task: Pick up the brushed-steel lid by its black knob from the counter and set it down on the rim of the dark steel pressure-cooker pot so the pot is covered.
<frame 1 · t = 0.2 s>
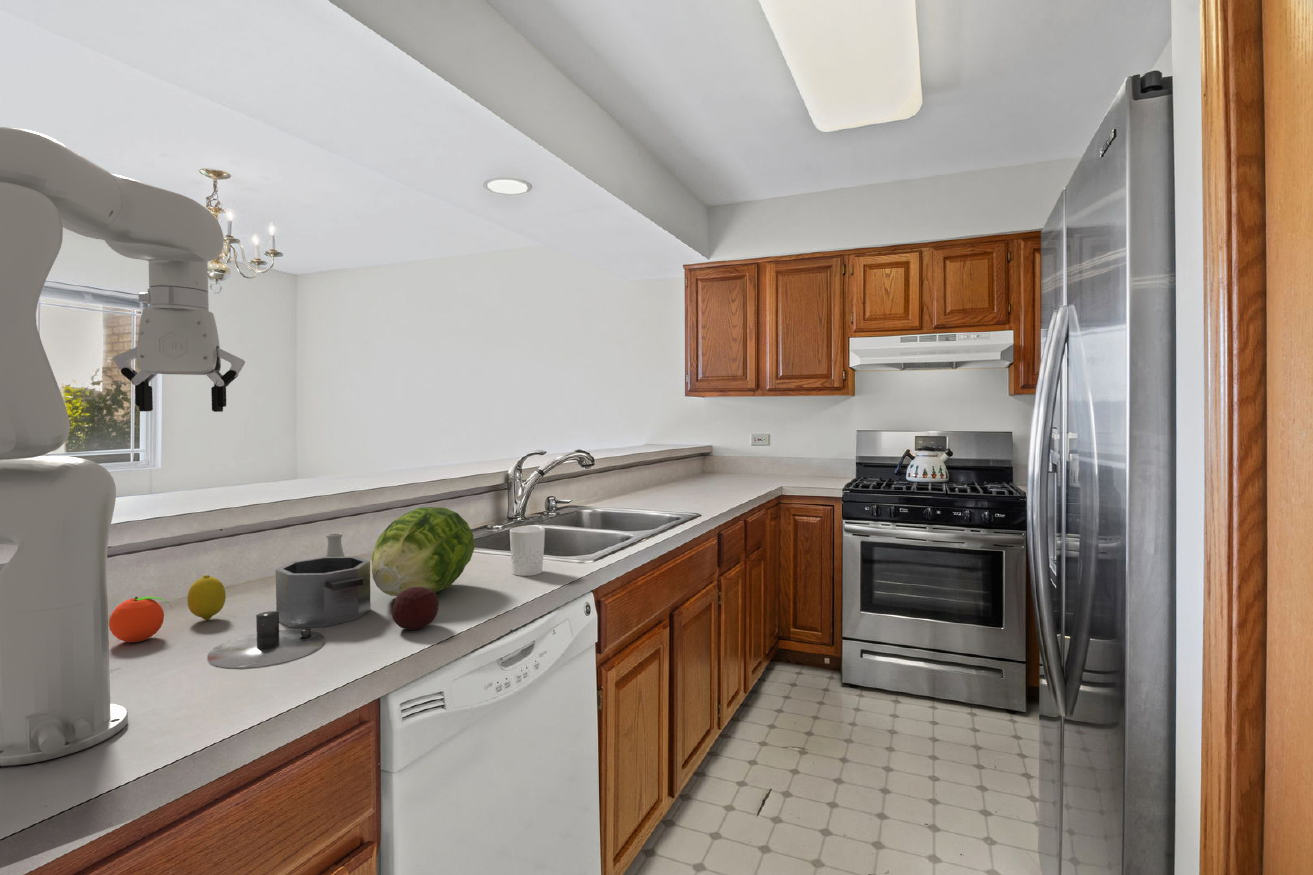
hand: (182, 411, 104), 37 cm above the counter, tool pointing down, fingers open, 9 cm apart
lemon: (207, 621, 116), on the counter
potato: (415, 629, 112), on the counter
lid: (268, 651, 102), on the counter
white cup: (527, 573, 151), on the counter
grey flared column: (335, 580, 144), on the counter
lettuce: (420, 596, 132), on the counter
clementine: (141, 641, 105), on the counter
pot: (324, 614, 119), on the counter
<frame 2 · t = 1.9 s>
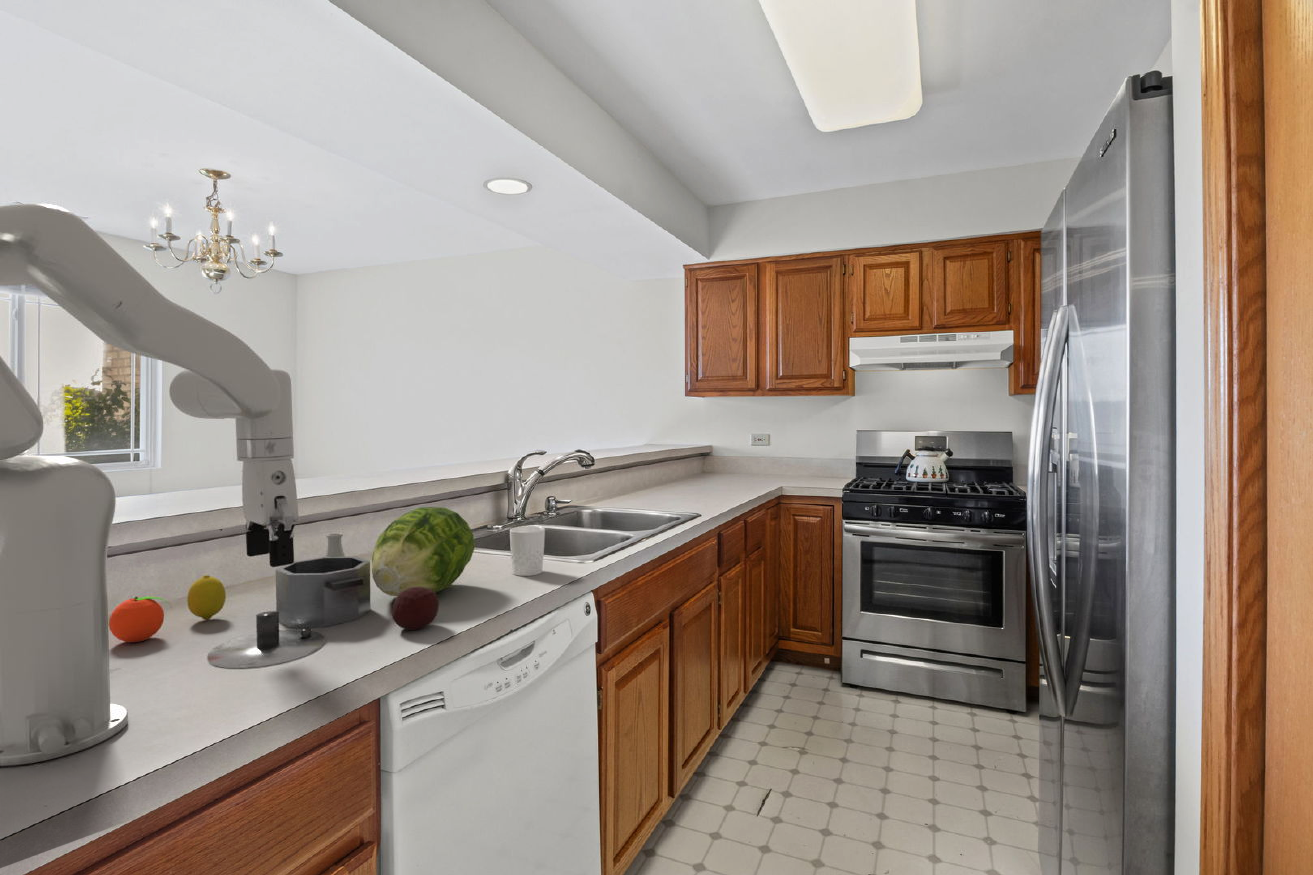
hand: (270, 559, 102), 14 cm above the counter, tool pointing down, fingers open, 9 cm apart
nothing on the counter moved.
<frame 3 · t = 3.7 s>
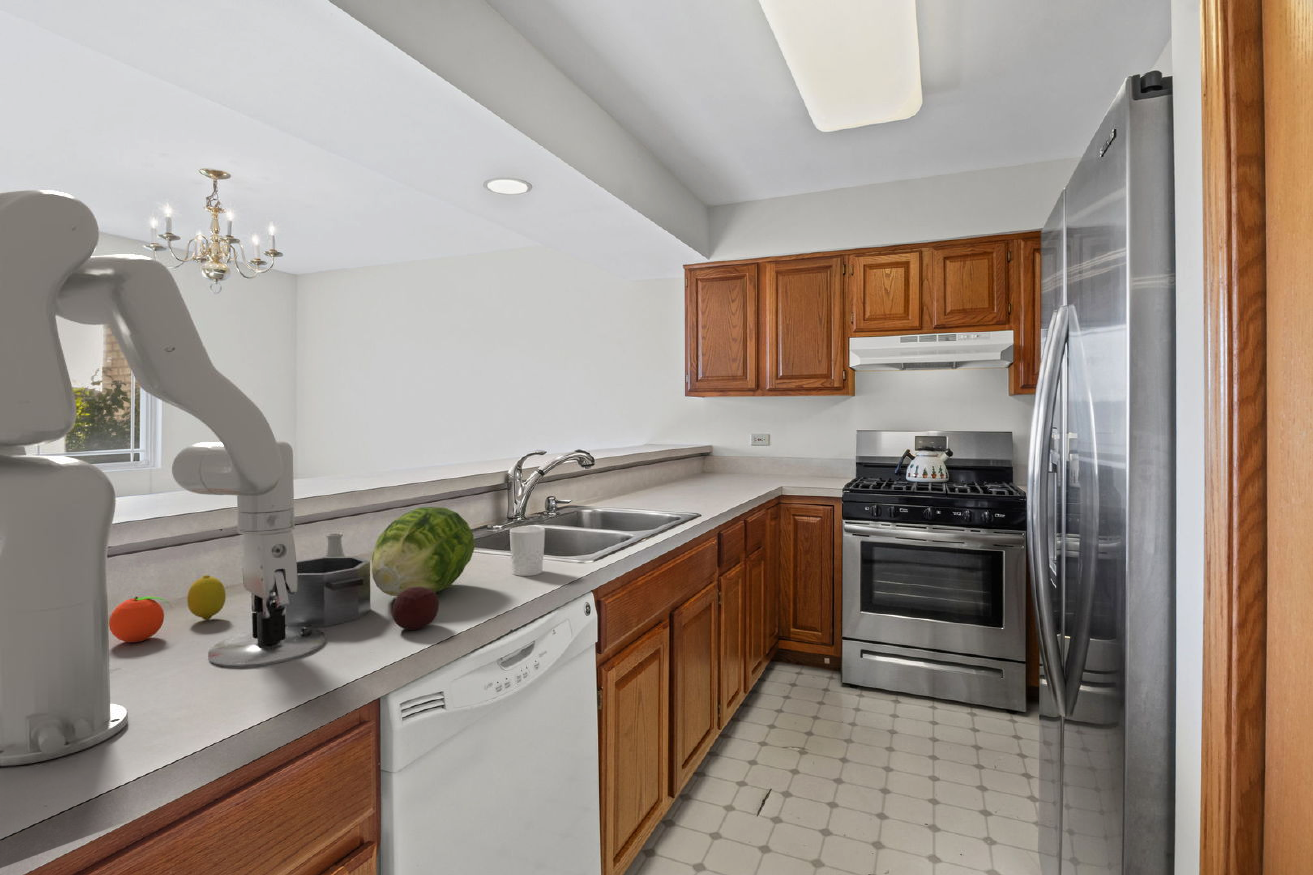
hand: (269, 637, 102), 2 cm above the counter, tool pointing down, fingers closed on lid, 3 cm apart
lid: (268, 648, 102), on the counter, touching gripper
everything else where it was.
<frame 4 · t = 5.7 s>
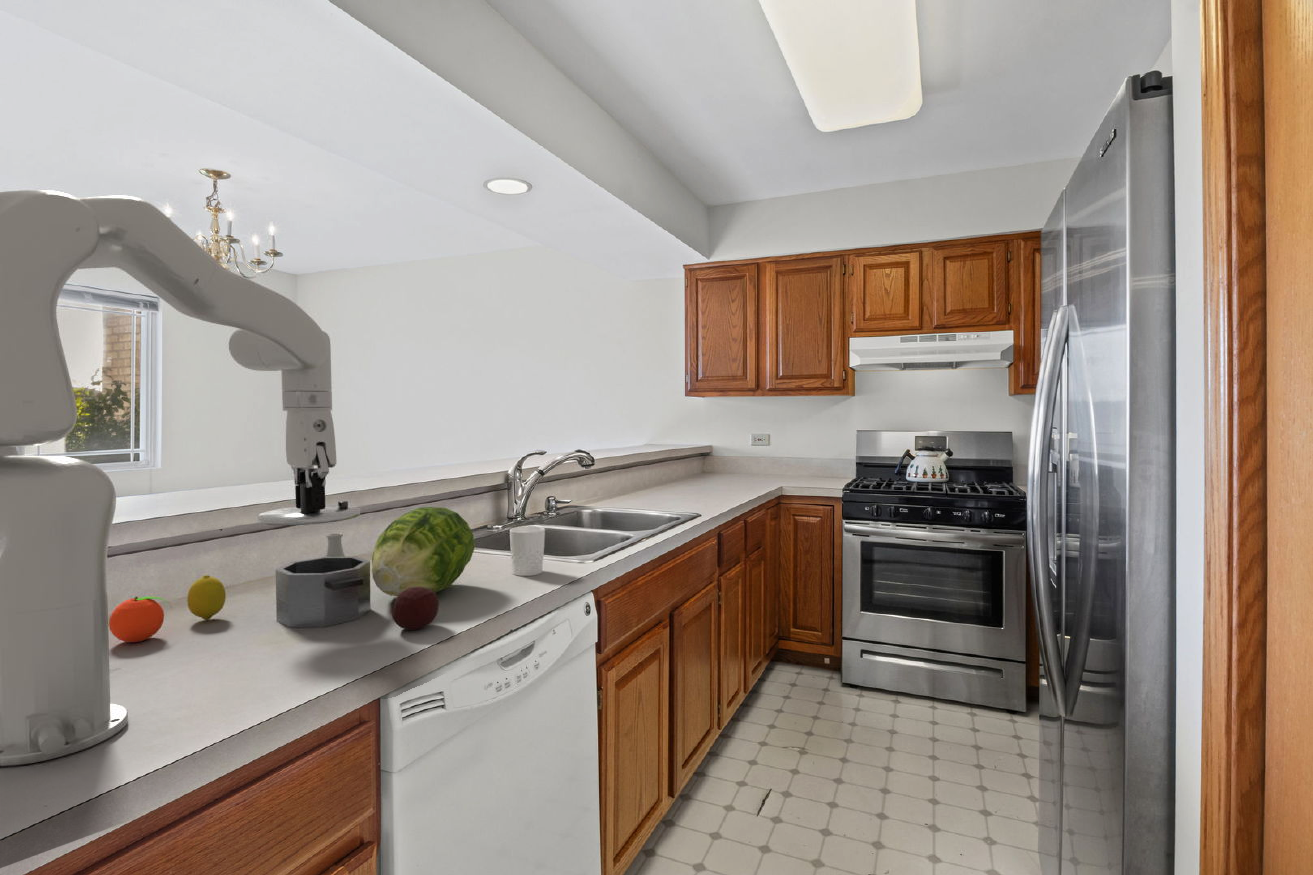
hand: (310, 507, 114), 20 cm above the counter, tool pointing down, fingers closed on lid, 3 cm apart
lid: (310, 516, 114), point 18 cm above the counter, touching gripper
everything else where it was.
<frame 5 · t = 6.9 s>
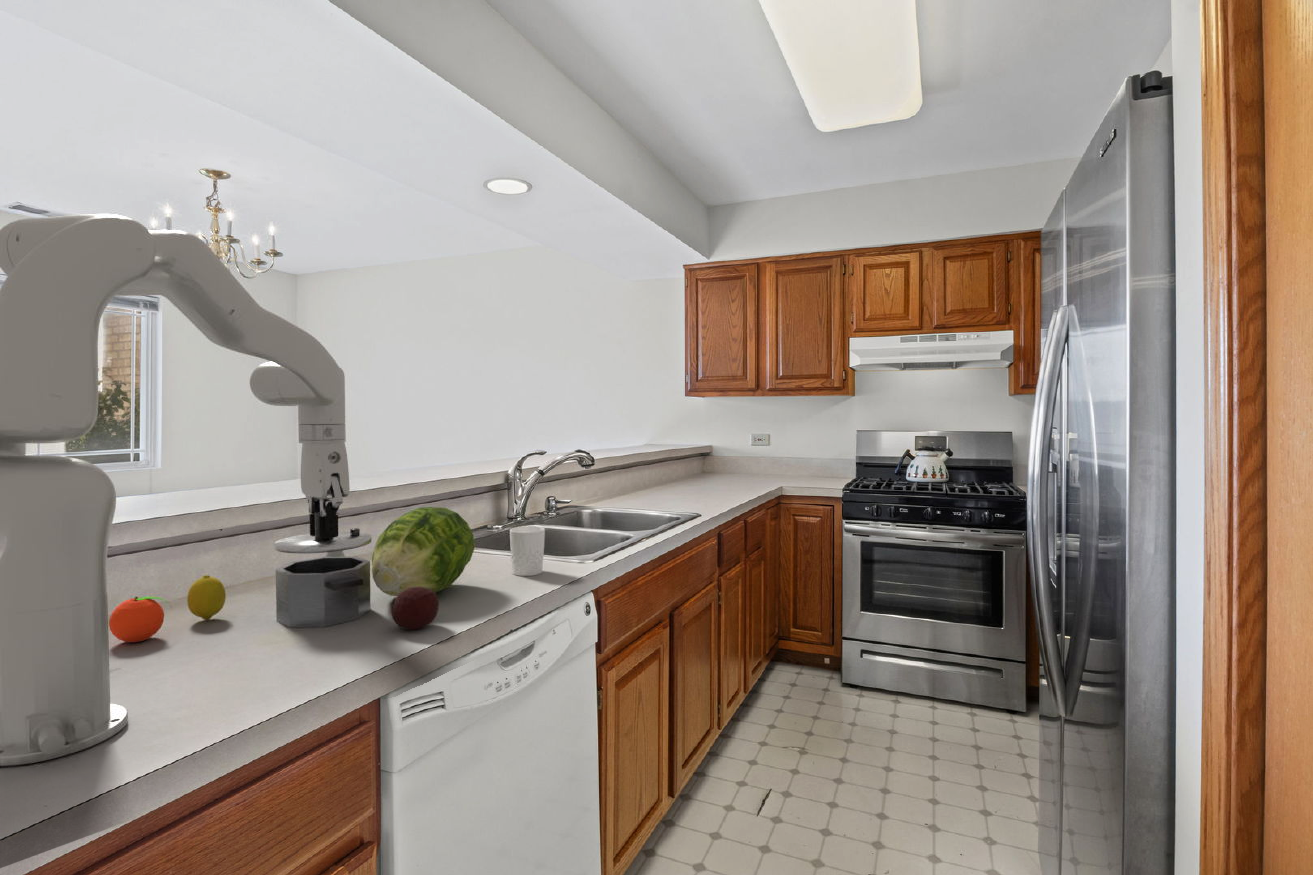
hand: (324, 535, 119), 14 cm above the counter, tool pointing down, fingers closed on lid, 3 cm apart
lid: (324, 544, 119), point 13 cm above the counter, touching gripper
everything else where it was.
when the fingers open (12 cm above the counter, at t = 7.6 s): lid drops 1 cm, resting on pot.
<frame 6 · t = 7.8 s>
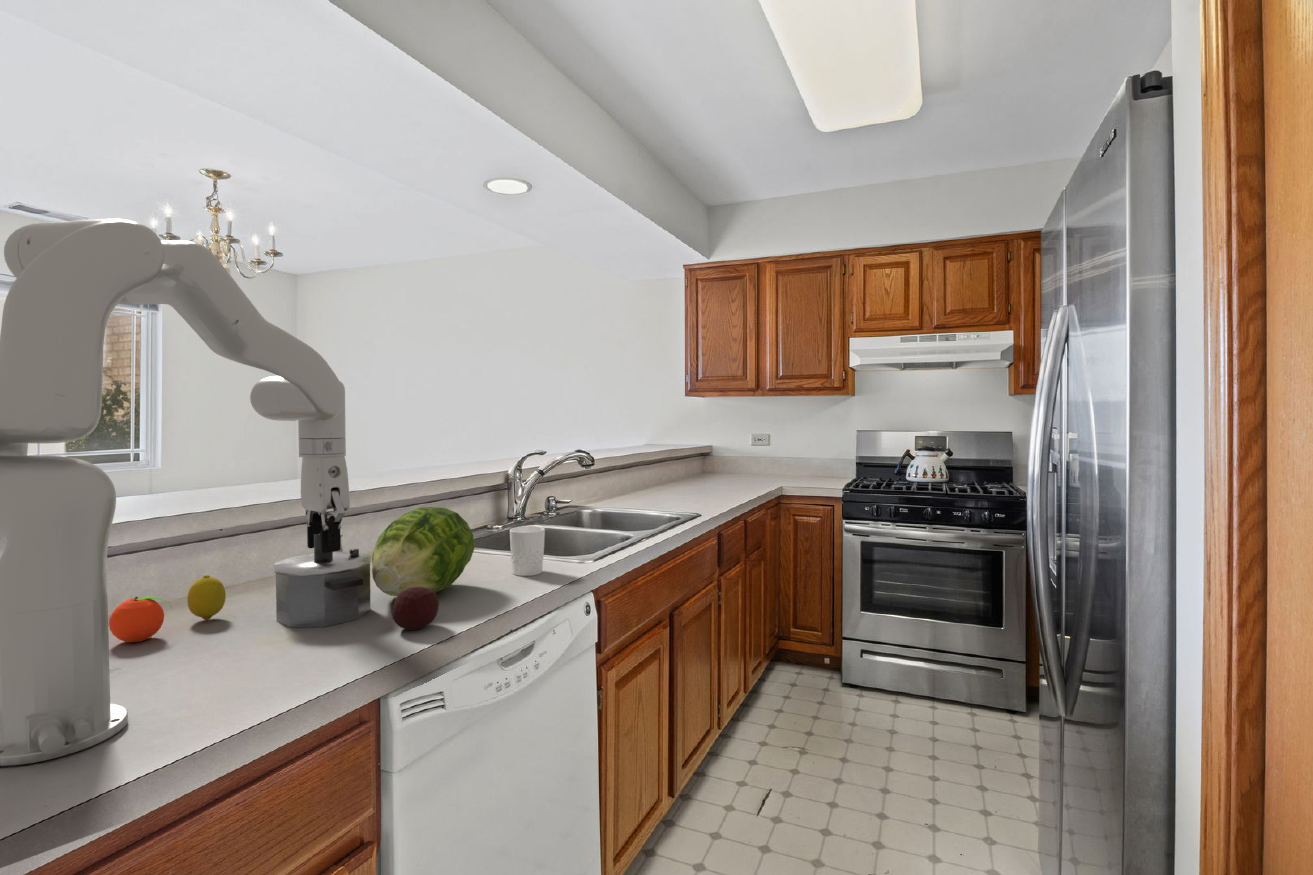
hand: (323, 548, 119), 12 cm above the counter, tool pointing down, fingers open, 4 cm apart
lid: (323, 565, 119), point 9 cm above the counter, touching pot
everything else where it was.
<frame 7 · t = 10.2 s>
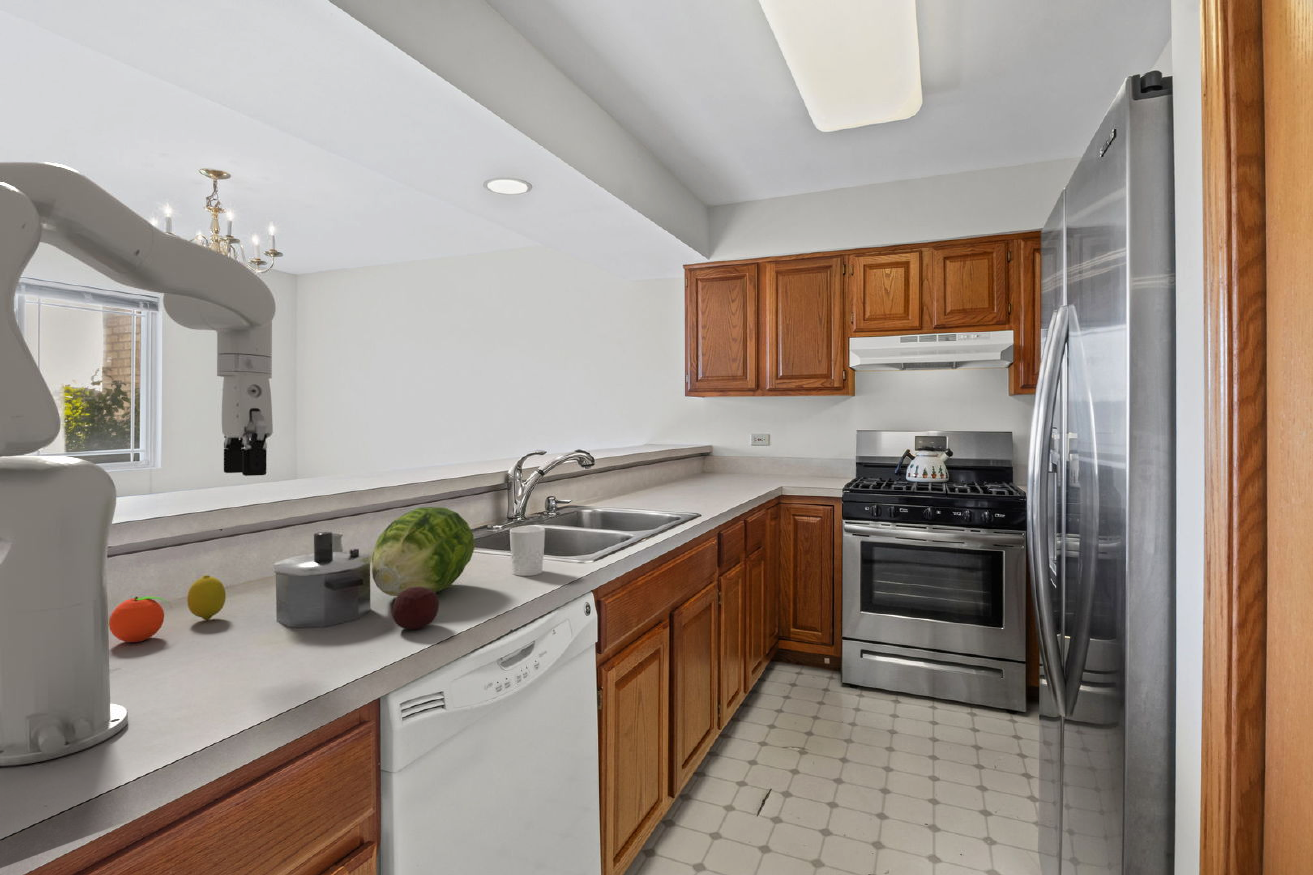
hand: (244, 473, 107), 27 cm above the counter, tool pointing down, fingers open, 9 cm apart
nothing on the counter moved.
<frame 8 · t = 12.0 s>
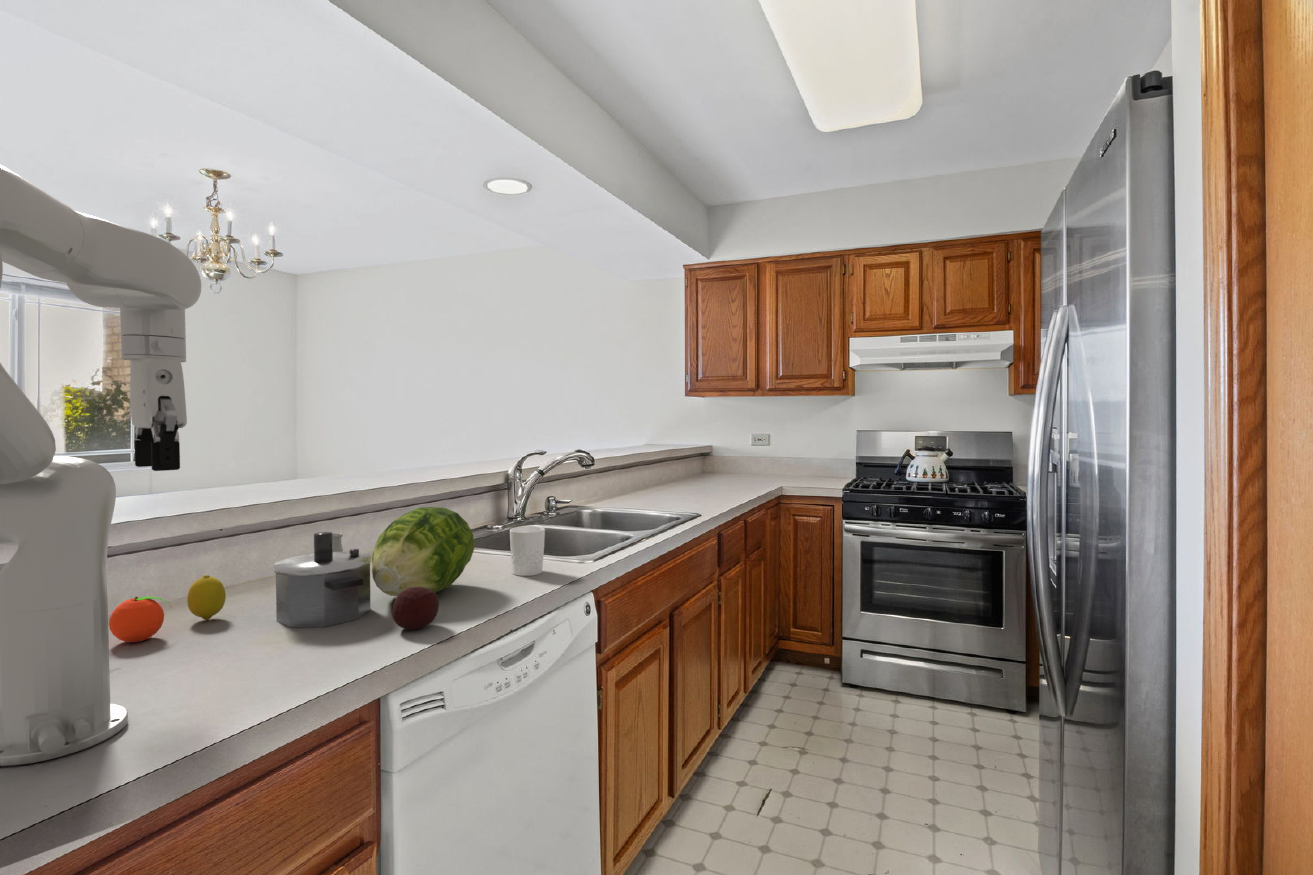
hand: (157, 468, 97), 28 cm above the counter, tool pointing down, fingers open, 9 cm apart
nothing on the counter moved.
at the end: lid 0.1 cm off-centre on the pot, point 9.0 cm above the pot's base; lid tilted 0°; the gripper is holding nothing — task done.
